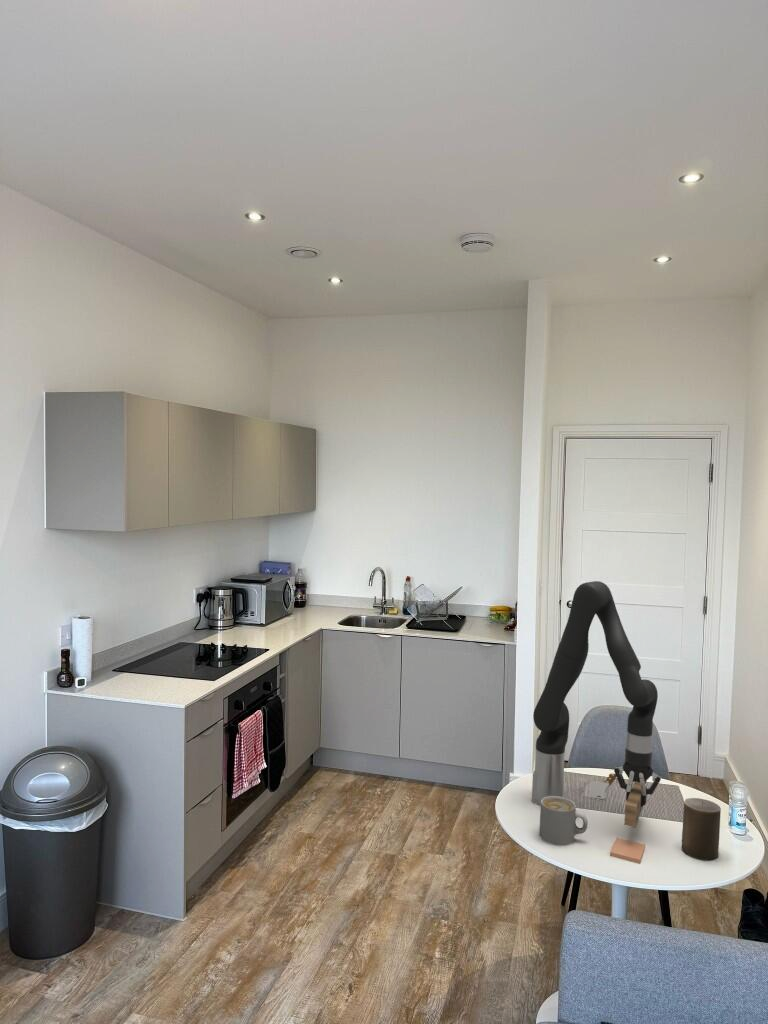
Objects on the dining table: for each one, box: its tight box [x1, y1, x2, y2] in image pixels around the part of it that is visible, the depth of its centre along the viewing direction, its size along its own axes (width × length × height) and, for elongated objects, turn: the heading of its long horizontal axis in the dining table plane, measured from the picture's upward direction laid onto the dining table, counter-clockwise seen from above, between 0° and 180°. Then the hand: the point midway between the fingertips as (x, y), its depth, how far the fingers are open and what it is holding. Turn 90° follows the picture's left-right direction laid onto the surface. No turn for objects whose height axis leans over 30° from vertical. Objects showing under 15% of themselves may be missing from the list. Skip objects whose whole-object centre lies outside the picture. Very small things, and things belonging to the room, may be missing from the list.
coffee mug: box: [538, 796, 588, 846], centre depth 209 cm, size 13×10×10 cm
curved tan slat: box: [623, 780, 648, 828], centre depth 214 cm, size 22×3×6 cm, turn 153°
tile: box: [609, 836, 646, 865], centre depth 203 cm, size 8×2×10 cm
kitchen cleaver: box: [588, 773, 617, 801], centre depth 248 cm, size 24×1×10 cm
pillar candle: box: [681, 797, 722, 861], centre depth 204 cm, size 10×10×15 cm
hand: (636, 804), depth 214 cm, fingers closed on curved tan slat, 3 cm apart
